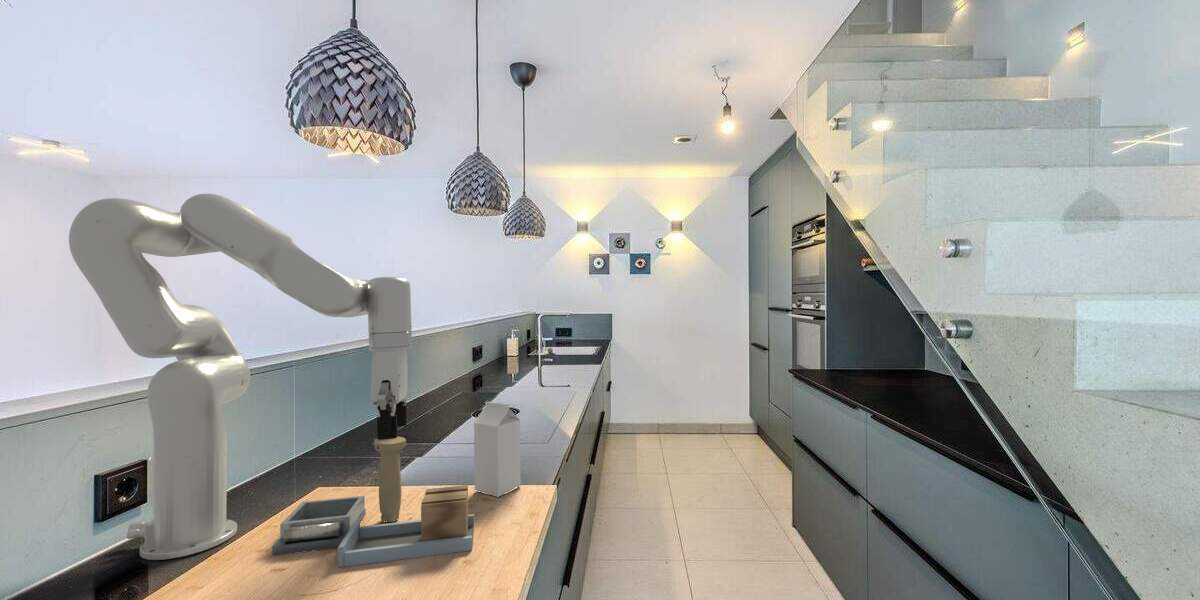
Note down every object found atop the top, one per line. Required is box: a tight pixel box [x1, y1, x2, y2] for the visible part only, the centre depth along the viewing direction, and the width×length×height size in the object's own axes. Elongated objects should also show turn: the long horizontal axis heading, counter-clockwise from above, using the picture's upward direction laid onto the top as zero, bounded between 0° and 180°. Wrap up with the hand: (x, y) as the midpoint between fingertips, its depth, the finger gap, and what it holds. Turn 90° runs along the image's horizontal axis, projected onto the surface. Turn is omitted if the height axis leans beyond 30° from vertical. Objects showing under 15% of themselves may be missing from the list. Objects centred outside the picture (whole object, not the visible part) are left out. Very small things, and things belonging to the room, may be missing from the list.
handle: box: [374, 435, 407, 523], centre depth 88 cm, size 5×6×15 cm
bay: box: [337, 513, 475, 568], centre depth 78 cm, size 20×9×3 cm, turn 103°
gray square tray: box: [271, 495, 367, 557], centre depth 82 cm, size 11×12×4 cm
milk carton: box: [473, 401, 522, 498], centre depth 102 cm, size 7×7×19 cm
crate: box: [420, 484, 469, 542], centre depth 79 cm, size 7×7×7 cm
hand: (393, 432), depth 88 cm, fingers open, 9 cm apart
